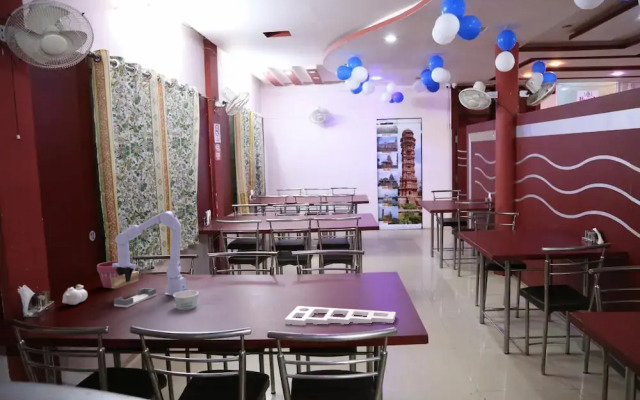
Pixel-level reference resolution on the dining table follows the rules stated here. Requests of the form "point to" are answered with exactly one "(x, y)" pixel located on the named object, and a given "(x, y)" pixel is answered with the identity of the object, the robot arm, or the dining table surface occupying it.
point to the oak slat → (124, 280)
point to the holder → (328, 318)
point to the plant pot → (107, 273)
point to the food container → (186, 299)
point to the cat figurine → (74, 295)
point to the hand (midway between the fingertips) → (125, 281)
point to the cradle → (135, 297)
